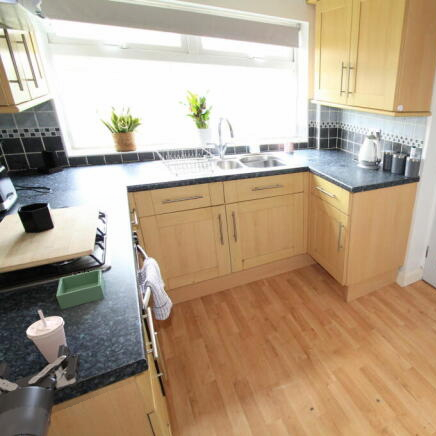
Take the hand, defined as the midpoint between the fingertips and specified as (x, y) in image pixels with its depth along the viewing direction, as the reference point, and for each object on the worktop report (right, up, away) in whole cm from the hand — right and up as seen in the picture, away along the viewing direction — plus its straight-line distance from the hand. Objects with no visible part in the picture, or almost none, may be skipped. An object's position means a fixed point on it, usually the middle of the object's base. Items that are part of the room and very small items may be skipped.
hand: (35, 356), depth 62 cm
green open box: (-17, +4, +34) cm, 38 cm away
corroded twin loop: (-24, +8, +42) cm, 49 cm away
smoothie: (-6, -6, +13) cm, 15 cm away
